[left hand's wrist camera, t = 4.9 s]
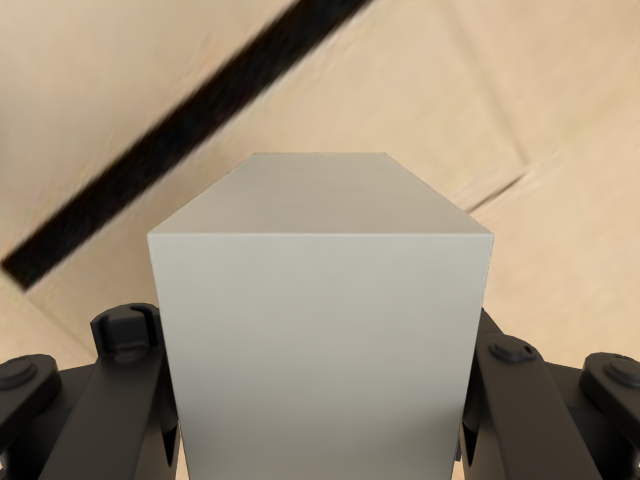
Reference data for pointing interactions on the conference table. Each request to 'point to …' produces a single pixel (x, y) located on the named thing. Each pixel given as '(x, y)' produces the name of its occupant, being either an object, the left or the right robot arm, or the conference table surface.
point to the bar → (320, 320)
